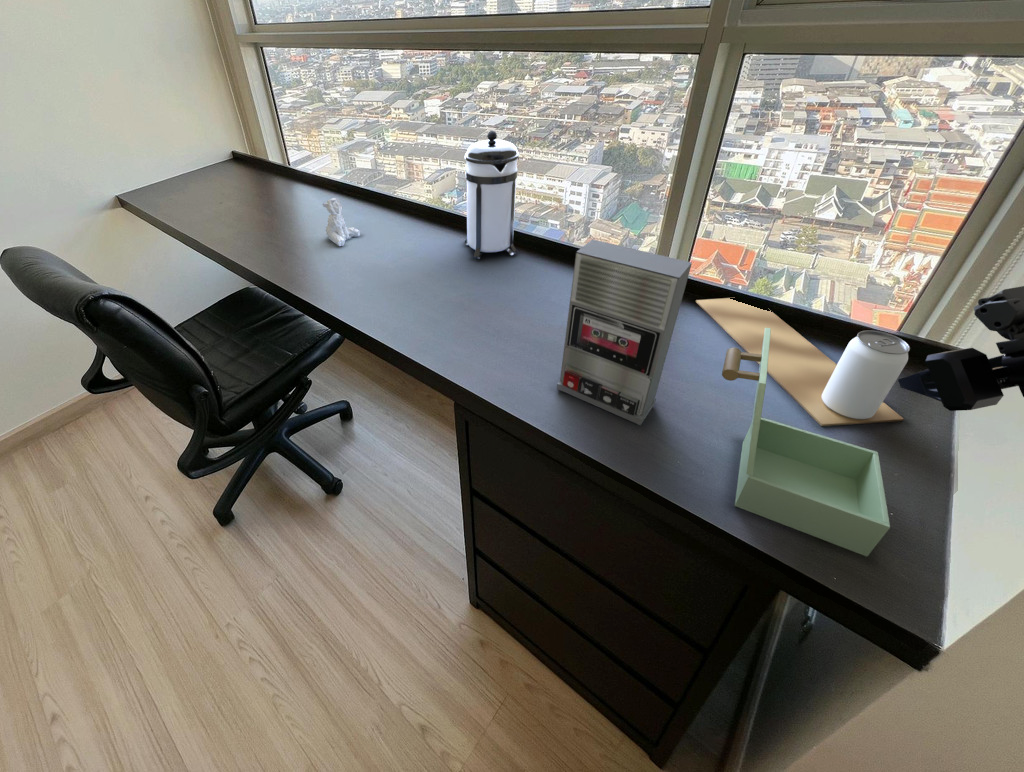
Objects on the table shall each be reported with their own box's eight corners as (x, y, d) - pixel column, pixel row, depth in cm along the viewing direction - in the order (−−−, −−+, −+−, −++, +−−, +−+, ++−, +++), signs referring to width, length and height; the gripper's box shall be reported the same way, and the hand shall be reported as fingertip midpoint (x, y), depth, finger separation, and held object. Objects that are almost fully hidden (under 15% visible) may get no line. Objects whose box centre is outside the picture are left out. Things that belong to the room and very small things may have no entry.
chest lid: (771, 328, 59) (730, 324, 61) (766, 383, 51) (719, 377, 53) (758, 413, 65) (722, 407, 67) (752, 475, 57) (711, 466, 59)
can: (809, 397, 75) (841, 333, 68) (842, 387, 76) (876, 324, 70) (850, 425, 69) (890, 359, 63) (885, 415, 71) (927, 349, 64)
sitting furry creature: (341, 247, 134) (334, 206, 128) (318, 242, 138) (310, 202, 132) (361, 235, 141) (356, 195, 134) (339, 230, 145) (332, 191, 138)
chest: (858, 481, 62) (878, 451, 59) (867, 556, 54) (890, 527, 51) (742, 443, 68) (754, 415, 65) (734, 506, 60) (748, 477, 57)
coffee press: (530, 244, 129) (538, 126, 113) (498, 266, 119) (502, 140, 103) (477, 231, 139) (477, 120, 122) (443, 251, 128) (439, 133, 112)
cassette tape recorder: (555, 390, 80) (572, 253, 66) (572, 372, 84) (591, 238, 70) (639, 427, 72) (678, 280, 58) (654, 405, 76) (693, 262, 62)
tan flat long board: (902, 420, 70) (904, 418, 70) (821, 426, 70) (822, 424, 70) (752, 297, 100) (753, 296, 100) (695, 301, 100) (695, 300, 100)
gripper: (1150, 265, 48) (966, 305, 64) (998, 292, 46) (844, 327, 61) (1206, 374, 46) (1001, 388, 61) (1049, 407, 44) (876, 414, 59)
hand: (930, 377), depth 61 cm, fingers open, 9 cm apart
